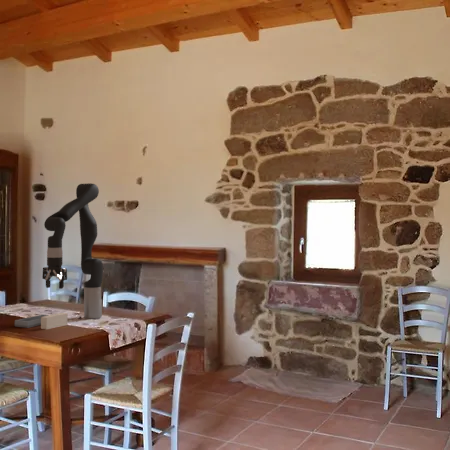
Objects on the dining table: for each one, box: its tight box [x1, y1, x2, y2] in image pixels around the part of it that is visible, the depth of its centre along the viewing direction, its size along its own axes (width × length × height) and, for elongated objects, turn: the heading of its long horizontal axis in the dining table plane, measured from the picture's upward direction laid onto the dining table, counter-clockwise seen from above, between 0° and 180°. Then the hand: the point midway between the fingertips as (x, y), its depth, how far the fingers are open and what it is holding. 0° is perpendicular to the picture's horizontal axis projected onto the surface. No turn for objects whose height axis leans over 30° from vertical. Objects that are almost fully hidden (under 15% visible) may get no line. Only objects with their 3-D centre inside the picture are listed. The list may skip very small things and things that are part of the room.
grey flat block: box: [14, 314, 50, 329], centre depth 278 cm, size 19×9×3 cm, turn 155°
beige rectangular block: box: [40, 312, 68, 330], centre depth 271 cm, size 14×4×6 cm, turn 152°
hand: (54, 288), depth 271 cm, fingers open, 8 cm apart
